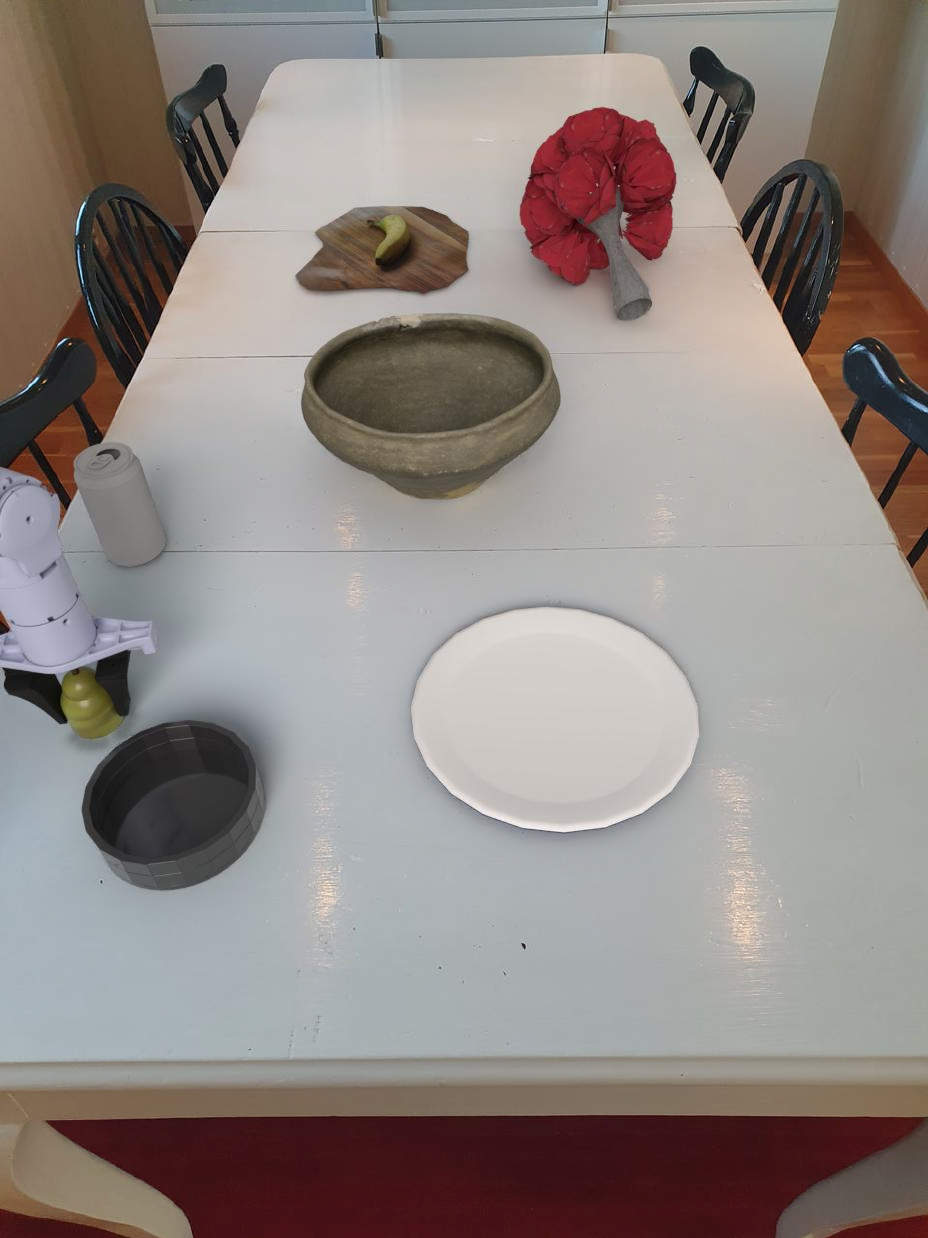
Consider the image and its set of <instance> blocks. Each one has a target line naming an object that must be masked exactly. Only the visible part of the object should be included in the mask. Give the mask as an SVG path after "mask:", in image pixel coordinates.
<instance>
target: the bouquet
mask: <svg viewBox="0 0 928 1238" xmlns="http://www.w3.org/2000/svg"><path fill="white" fill-rule="evenodd" d="M655 125H656V124H655V123H654V122H651V121H649V120H648V119H643V120H640V121H638V120H637V119H635V118H632V117H630V116H627V115H625V114H622V113H620V112H619V111H618V110H617V109H614V108H610V107H605V106H600V107H593V108H592V109H587V110H583V111H581V112H578V113H574V114H572V115H569V116H567V119H565V121H564V123H563V124H562V126H561V127H560V128H559V129H557V130H556V132H553V134H550V135H549V136H548V137H547V139H546V140H545V141H543V142H542V143H541V145H540V146H539V147H538V148H537V150H536V152H535V154H534V157H533V159H532V160H533V161H532V163H531V165H530V173H529V175H528V177H527V179H528V181H527V183H526V184H525V187H524V193H523V196H522V198H521V203H520V204H519V221H520V225H521V226H522V227H523V228H524V230H525V231H524V235H525V237H526V240H527V241H528V242H529V243H530V244H531V246H530V247H529V250H530V253H531V255H532V256H533V257H534V258H535V259H537V260H539V261H541V262H542V263H544V264H545V265H546V266H547V268H548V270H550V272H552V273H553V274H554V275H556V276H559V277H560V278H561V279H563V280H565V281H567V282H569V283H572V284H573V285H575V286H579V285H581V284H584V283H585V282H586V281H587V279H588V277H589V275H590V270H604V269H607V268H608V267H609V272H610V287H611V295H612V301H613V306H614V307H615V310H616V313H617V318H618V319H620V320H622V321H632V320H634V319H638V318H640V317H642V316H643V315H645V314H646V313H648V312H649V311H650V309H651V308H652V306H653V301H652V298H651V296H650V291H649V289H648V287H647V285H646V284H645V282H644V280H643V279H642V277H641V275H640V274H639V272H638V270H637V269H636V268H635V267H634V265H633V264H632V263H631V261H630V259H629V258H628V256H627V254H626V252H625V251H624V248H623V245H622V241H621V239H622V240H624V238H625V239H626V241H627V242H628V245H630V246H631V247H632V248H633V249H634V250H636V251H637V252H638V253H639V254H640V255H641V256H642V257H643V258H645V259H646V260H647V261H651V262H652V261H653V260H658V259H661V258H662V256H663V253H664V251H665V249H666V248H667V247H668V243H669V241H670V239H671V237H672V234H673V230H674V229H673V228H674V226H673V225H674V224H673V219H674V218H673V211H674V207H673V204H672V200H673V199H674V196H673V195H674V194H675V190H676V186H677V172H676V171H675V163H674V160H673V158H672V156H671V153H670V152H668V148H667V147H666V146H665V144H664V143H663V142H662V141H661V138H660V136H659V135H658V134H657V128H656V127H655ZM623 213H625V214H627V215H626V218H624V220H625V221H626V222H627V223H625V225H624V227H625V229H622V227H621V218H622V215H623Z"/></svg>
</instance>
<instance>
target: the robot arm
mask: <svg viewBox="0 0 928 1238" xmlns="http://www.w3.org/2000/svg"><path fill="white" fill-rule="evenodd" d="M42 483H43V482H42V481H40V480H39V479H37V478H36V477H34V476H30V475H27V474H25V473H21V472H18V471H16V470H11V469H9V468H5V467H3V466H0V612H1V615H2V616H3V618H4V620H5V622H6V623H7V625H8V627H9V629H10V631H8V632H5V633H3V634H0V668H1V669H2V671H3V675H4V681H3V689H4V690H5V692H6V693H7V694H8V696H11V697H12V696H13V697H17V698H19V699H22V700H24V701H27V702H28V703H30V704H32V705H34V706H36V707H37V708H38V709H40V710H42V711H43V712H44V713H46V714H47V715H48V716H49V717H50V718H52V720H54V721H55V722H56V723H57V724H59V725H66V724H68V720H67V718H66V716H65V714H64V712H63V710H62V708H61V694H62V683H61V682H60V681H59V678H58V677H57V674H62V673H63V674H64V673H67V672H68V671H70V670H73V669H76V668H78V667H81V666H87V665H90V664H91V663H94V662H96V666H95V668H96V669H95V671H96V673H95V681H96V682H97V683H98V684H100V685H101V686H102V687H103V688H104V689H105V691H106V692H107V693H108V695H109V696H110V698H111V700H112V703H113V705H114V708H115V710H116V712H117V713H118V715H119V716H120V717H122V716H124V717H128V716H129V714H130V707H131V706H130V705H131V695H130V689H129V682H128V681H129V680H128V678H129V677H128V673H129V672H128V671H129V667H130V658H131V653H132V651H137V650H142V653H143V654H144V655H150V654H157V652H158V645H159V634H158V630H157V628H156V626H155V623H154V620H143V621H142V620H137V621H136V620H129V619H128V620H126V619H119V618H114V617H113V618H112V617H105V616H97V615H91V613H90V611H89V609H88V607H87V604H86V601H85V600H84V597H83V594H82V593H81V591H80V588H79V586H78V583H77V582H76V579H75V576H74V575H73V572H72V570H71V568H70V565H69V563H68V561H67V559H66V557H65V554H64V552H63V550H62V547H64V544H63V542H62V540H61V537H60V534H59V524H60V519H61V501H60V498H59V496H58V493H53V492H50V491H49V490H48V488H47V487H46V485H44V484H42Z"/></svg>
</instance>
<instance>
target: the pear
mask: <svg viewBox="0 0 928 1238" xmlns="http://www.w3.org/2000/svg"><path fill="white" fill-rule="evenodd" d="M95 673H96V669H94V668H93V667H90V666H87V665H84V666H81V667H78V668H76V669H73V670H70V671H67V672H65V674H64V676H63V677H62V679H61V686H62V694H61V708H62V710H63V712H64V714H65V716H66V718H67V720H68V721H67V723H69V726H70V727H71V729H72V731H73V733H74V734H75V735H77V736H78V737H80V738H82V739H87V740H94V739H100V738H103V737H106V736H108V735H110V734H112V733H113V732H115V731H116V730H117V729H118V728H119V727H120V726H121V724H122V723H123V722H124V719H125V716H122V717H120V716H119V715H118V713H117V712H116V710H115V708H114V705H113V703H112V700H111V698H110V696H109V695H108V693H107V692H106V691H105V689H104V688H103V687H102V686H101V685H100V684H98V683H97V682H96V681H95Z"/></svg>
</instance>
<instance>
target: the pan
mask: <svg viewBox="0 0 928 1238" xmlns="http://www.w3.org/2000/svg"><path fill="white" fill-rule="evenodd" d="M264 792H265V791H264V787H263V784H262V781H261V777H260V774H259V770H258V767H257V764H256V763H255V759H254V757H253V754H252V751H251V749H250V747H249V746H248V744H246V742H244V740H242V739H241V737H240V736H238V734H237V733H236V732H235V731H232V730H230V729H228V728H225V727H224V726H221V725H219V724H218V723H215V722H211V721H210V722H208V721H201V720H194V719H185V720H176V721H169V722H163V723H159V724H157V725H155V726H151V727H149V728H145V729H143V730H141V731H139V732H137V733H135V734H133V735H132V736H130V737H129V738H127V739H126V740H124V741H122V742H121V743H119V744H117V746H115V747H114V748H113V749H112V750H111V751H110V752H109V753H108V754H107V755H106V756H104V758H103V759H102V760H101V761H100V762H99V763H98V764H97V765H96V767H95V769H94V771H93V772H92V774H91V776H90V778H89V780H88V782H87V783H86V785H85V788H84V793H83V798H82V803H81V809H80V810H81V811H80V812H81V815H82V816H81V817H82V820H83V825H84V830H85V832H86V834H87V836H88V838H89V839H90V841H91V843H92V845H93V846H94V848H95V850H96V851H97V853H98V855H99V856H100V857H101V858H102V860H103V861H104V863H105V864H106V866H107V867H108V869H109V870H110V871H111V872H112V873H113V874H114V875H115V876H117V877H118V878H119V879H121V880H122V881H124V882H126V883H127V884H129V885H132V886H135V887H137V888H139V889H144V890H145V889H146V890H150V891H174V890H180V889H185V888H190V887H193V886H196V885H199V884H201V883H204V882H206V881H207V882H208V881H209V880H210V879H213V878H215V877H216V876H218V875H220V874H221V873H223V872H224V871H226V870H227V869H229V868H230V867H231V866H233V864H234V863H236V862H237V861H238V860H239V859H240V858H241V857H242V856H243V855H244V854H245V853H246V851H247V850H248V849H249V848H250V846H251V845H252V843H253V842H254V840H255V839H256V836H257V835H258V832H259V830H260V828H261V826H262V822H263V819H264V815H265V807H266V806H265V803H266V802H265V793H264Z"/></svg>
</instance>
